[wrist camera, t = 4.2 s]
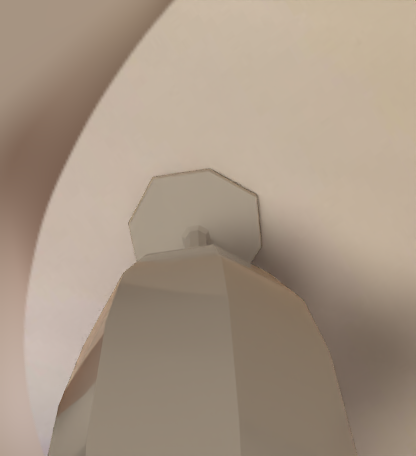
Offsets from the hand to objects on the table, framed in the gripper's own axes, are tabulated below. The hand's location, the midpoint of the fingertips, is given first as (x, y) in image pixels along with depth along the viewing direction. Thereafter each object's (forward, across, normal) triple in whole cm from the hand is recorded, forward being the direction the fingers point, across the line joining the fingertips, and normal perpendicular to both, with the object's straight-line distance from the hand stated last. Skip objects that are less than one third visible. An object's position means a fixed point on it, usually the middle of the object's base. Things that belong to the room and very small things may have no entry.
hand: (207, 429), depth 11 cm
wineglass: (+16, 0, 0) cm, 16 cm away
